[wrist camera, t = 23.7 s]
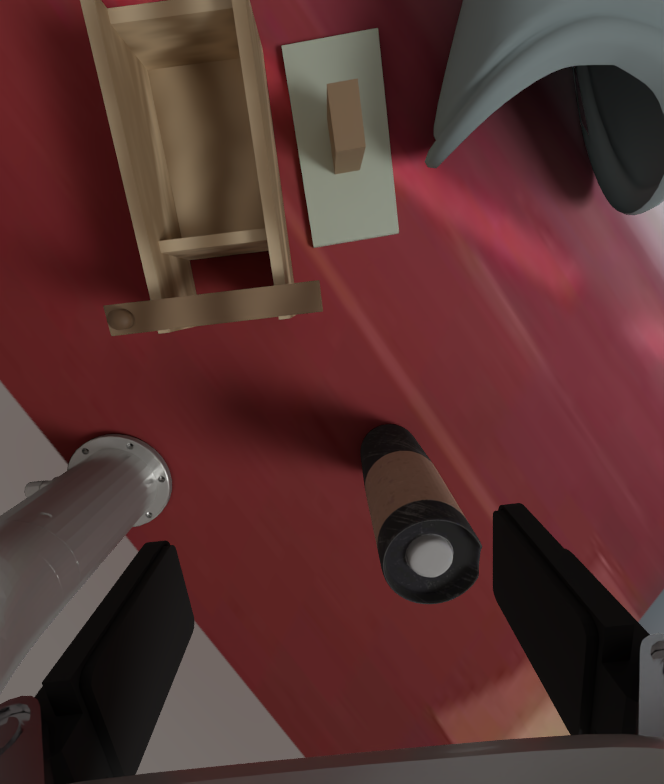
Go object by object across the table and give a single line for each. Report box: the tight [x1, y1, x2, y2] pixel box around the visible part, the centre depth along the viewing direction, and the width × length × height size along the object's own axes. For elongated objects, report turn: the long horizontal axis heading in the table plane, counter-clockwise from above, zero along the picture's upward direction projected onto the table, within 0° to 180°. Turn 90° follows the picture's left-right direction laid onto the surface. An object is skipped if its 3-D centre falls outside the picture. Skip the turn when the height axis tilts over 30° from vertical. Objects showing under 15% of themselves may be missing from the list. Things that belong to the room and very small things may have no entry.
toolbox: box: [80, 0, 295, 334], centre depth 34 cm, size 12×25×9 cm, turn 6°
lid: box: [282, 28, 399, 248], centre depth 34 cm, size 9×18×7 cm, turn 9°
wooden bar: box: [103, 280, 323, 336], centre depth 31 cm, size 18×2×3 cm, turn 96°
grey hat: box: [425, 0, 664, 215], centre depth 30 cm, size 22×19×13 cm
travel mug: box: [361, 424, 482, 604], centre depth 36 cm, size 8×8×20 cm
